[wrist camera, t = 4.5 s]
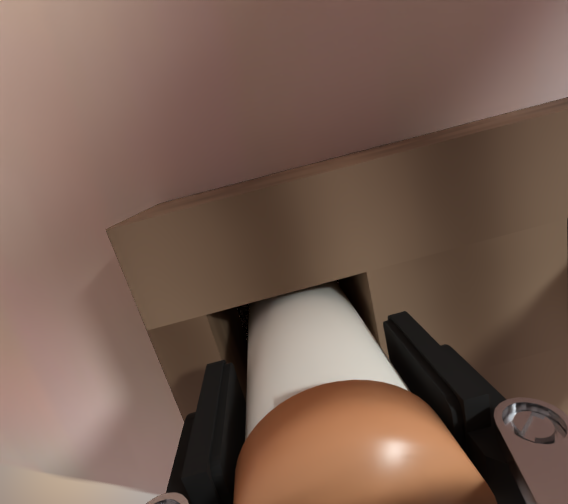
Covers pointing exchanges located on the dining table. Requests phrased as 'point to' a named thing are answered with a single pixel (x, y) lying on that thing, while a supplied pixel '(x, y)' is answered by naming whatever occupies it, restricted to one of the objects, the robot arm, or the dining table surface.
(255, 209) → the block
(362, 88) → the dining table surface
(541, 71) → the dining table surface
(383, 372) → the orange-brown and white plug
